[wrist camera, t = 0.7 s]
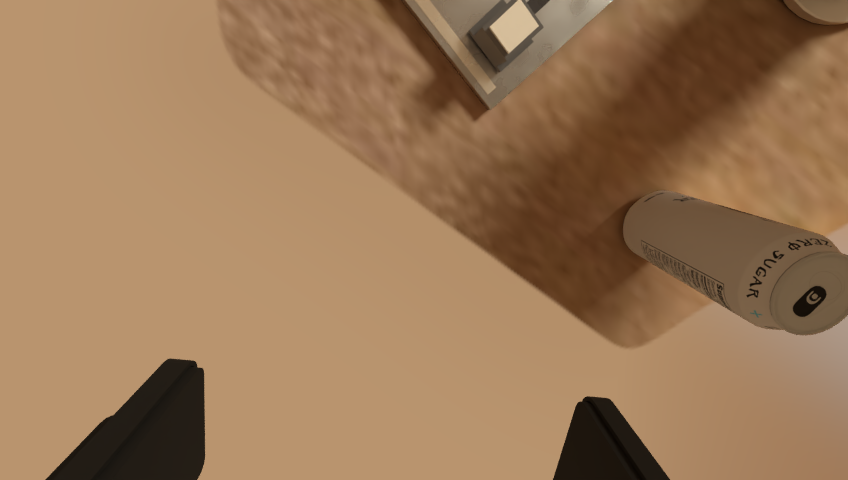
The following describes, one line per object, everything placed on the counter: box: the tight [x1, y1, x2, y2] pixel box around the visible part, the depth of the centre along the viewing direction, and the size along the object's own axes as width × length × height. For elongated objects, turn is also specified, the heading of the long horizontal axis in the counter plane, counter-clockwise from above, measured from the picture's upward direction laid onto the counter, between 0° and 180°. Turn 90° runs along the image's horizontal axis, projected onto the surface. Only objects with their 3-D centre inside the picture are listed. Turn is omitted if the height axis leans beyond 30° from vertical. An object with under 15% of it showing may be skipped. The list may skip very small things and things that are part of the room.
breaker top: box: [468, 0, 544, 72], centre depth 27 cm, size 3×4×4 cm
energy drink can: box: [623, 190, 848, 335], centre depth 28 cm, size 6×6×15 cm
